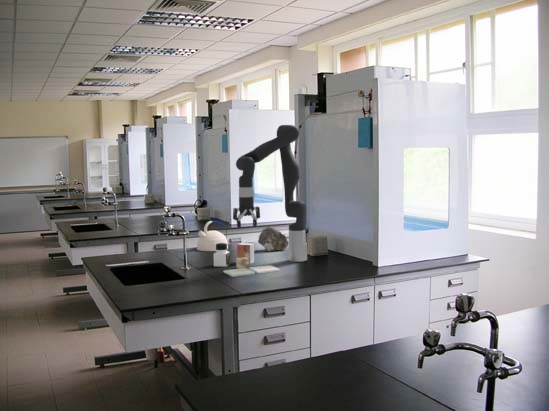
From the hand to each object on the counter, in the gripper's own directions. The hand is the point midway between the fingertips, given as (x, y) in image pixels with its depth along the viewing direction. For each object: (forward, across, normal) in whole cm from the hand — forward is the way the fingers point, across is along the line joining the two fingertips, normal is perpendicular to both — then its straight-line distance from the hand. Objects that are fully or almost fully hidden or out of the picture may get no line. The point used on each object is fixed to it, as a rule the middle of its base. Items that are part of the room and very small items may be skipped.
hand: (246, 227), depth 285 cm
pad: (+22, -7, +6) cm, 24 cm away
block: (+22, 0, -6) cm, 23 cm away
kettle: (+22, -9, -73) cm, 77 cm away
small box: (+22, -7, -18) cm, 30 cm away
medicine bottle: (+22, +7, -19) cm, 30 cm away
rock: (+22, -39, -46) cm, 64 cm away
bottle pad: (+22, +7, +5) cm, 24 cm away
